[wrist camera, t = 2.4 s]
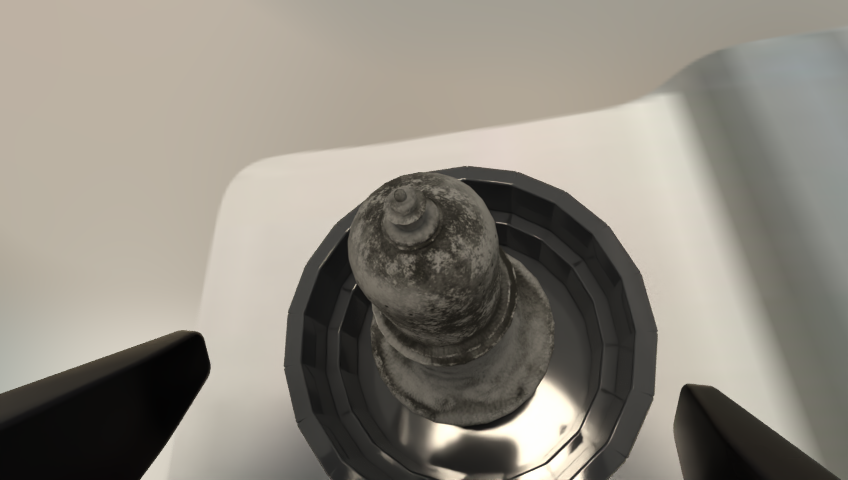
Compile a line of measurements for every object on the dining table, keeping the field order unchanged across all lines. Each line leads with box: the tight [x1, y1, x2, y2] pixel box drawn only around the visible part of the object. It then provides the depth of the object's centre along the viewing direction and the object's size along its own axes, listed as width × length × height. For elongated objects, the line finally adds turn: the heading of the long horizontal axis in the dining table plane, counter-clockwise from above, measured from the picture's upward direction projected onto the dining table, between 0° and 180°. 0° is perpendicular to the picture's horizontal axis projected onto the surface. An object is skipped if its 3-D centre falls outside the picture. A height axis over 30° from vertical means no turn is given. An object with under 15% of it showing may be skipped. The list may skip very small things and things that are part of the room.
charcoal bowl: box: [284, 166, 658, 480], centre depth 15 cm, size 11×11×4 cm
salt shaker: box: [348, 172, 555, 427], centre depth 12 cm, size 6×6×12 cm
